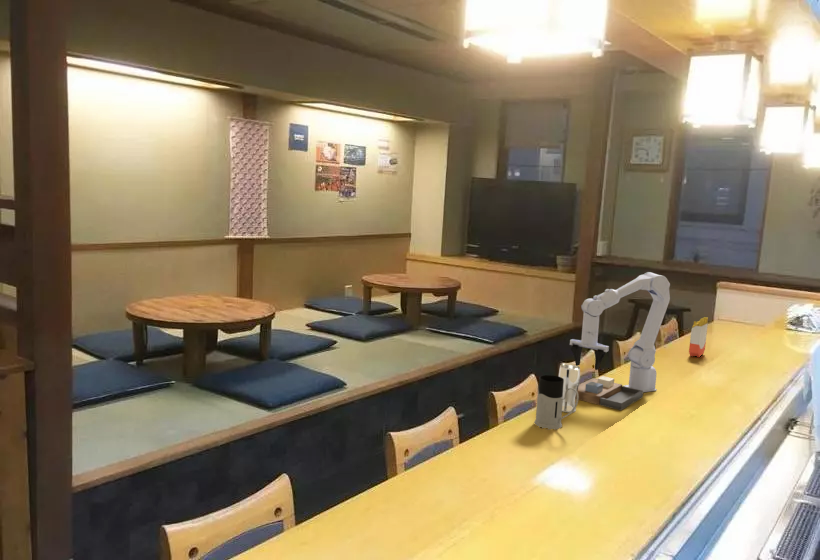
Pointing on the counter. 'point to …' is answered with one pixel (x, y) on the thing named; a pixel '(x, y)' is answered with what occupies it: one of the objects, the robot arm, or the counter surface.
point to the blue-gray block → (594, 387)
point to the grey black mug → (551, 402)
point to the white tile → (606, 381)
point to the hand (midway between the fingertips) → (587, 367)
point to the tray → (622, 398)
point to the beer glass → (569, 385)
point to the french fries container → (698, 337)
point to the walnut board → (596, 397)
